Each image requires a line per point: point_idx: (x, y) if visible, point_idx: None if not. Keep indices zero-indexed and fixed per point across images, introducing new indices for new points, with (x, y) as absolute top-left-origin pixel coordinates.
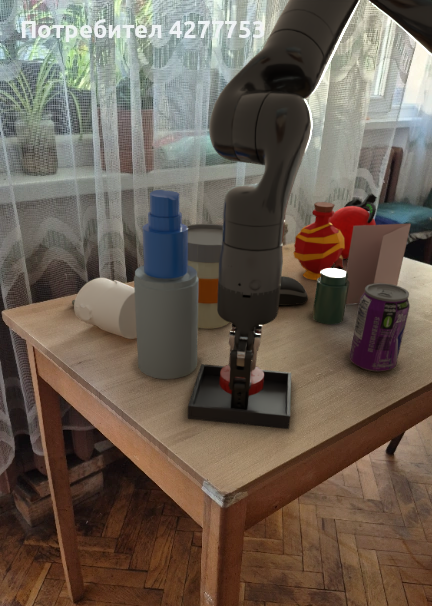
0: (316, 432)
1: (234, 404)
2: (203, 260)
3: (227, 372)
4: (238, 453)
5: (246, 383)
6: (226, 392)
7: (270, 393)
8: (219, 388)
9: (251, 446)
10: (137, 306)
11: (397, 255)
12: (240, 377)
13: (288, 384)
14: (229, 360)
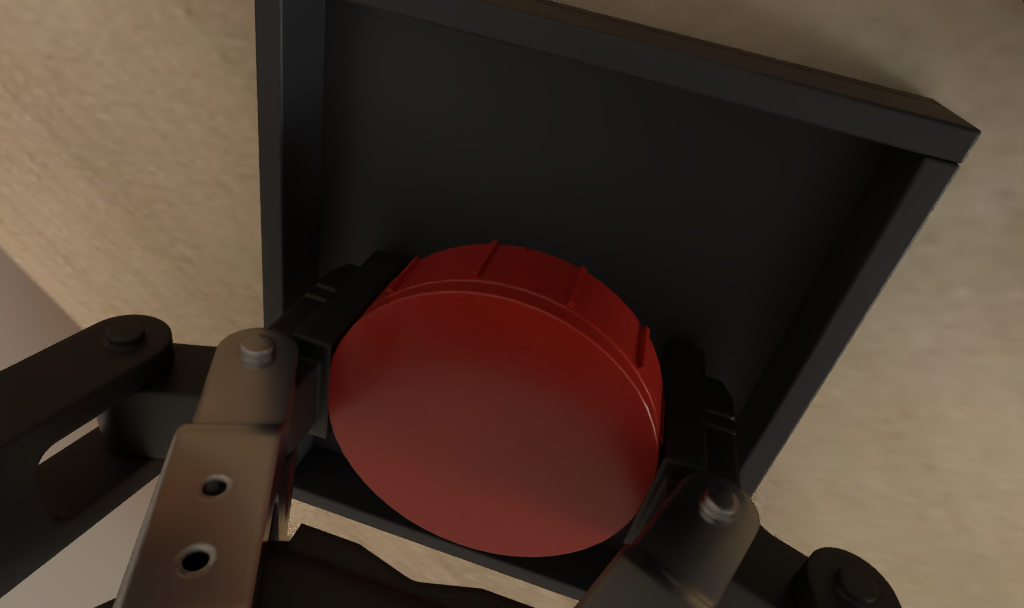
0: (304, 512)
1: (324, 282)
2: None
3: (491, 349)
4: (99, 205)
5: (62, 456)
6: (588, 256)
7: None
8: (644, 220)
9: (161, 271)
10: None
11: None
12: (418, 415)
13: (541, 578)
14: (164, 470)
